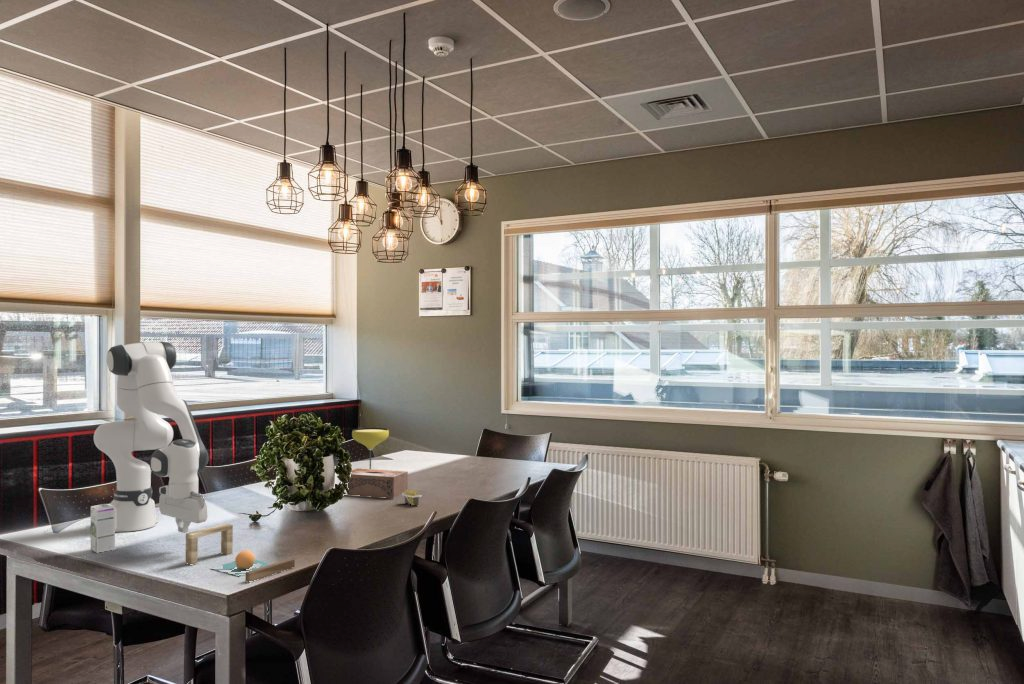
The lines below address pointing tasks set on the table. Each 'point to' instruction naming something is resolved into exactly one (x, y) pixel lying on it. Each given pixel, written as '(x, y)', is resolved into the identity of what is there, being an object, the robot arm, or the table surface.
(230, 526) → the bridge
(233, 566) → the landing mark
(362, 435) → the cocktail glass
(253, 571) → the stopper wall
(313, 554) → the table surface
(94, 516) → the syrup box
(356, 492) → the tissue box cover
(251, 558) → the ball
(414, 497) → the plastic food container
